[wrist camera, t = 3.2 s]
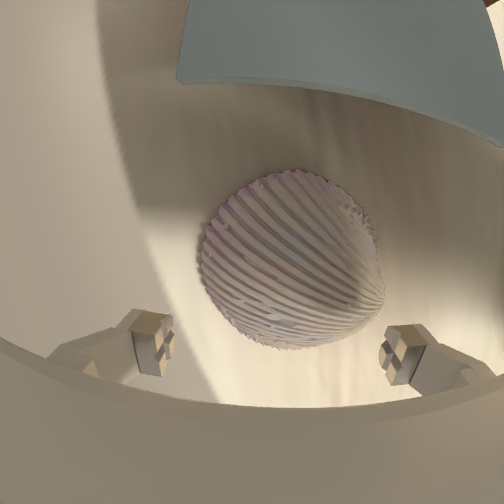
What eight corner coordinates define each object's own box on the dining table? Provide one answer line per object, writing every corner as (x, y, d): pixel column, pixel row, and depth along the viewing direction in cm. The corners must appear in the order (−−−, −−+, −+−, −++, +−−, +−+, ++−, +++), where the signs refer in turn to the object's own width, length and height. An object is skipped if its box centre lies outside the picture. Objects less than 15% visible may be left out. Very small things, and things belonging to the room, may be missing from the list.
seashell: (354, 388, 14) (178, 376, 11) (325, 335, 19) (185, 313, 17) (441, 226, 11) (235, 145, 8) (383, 201, 16) (227, 146, 13)
